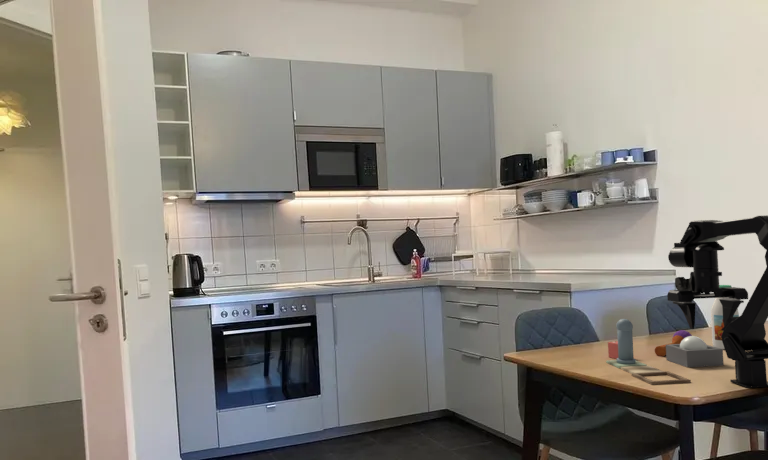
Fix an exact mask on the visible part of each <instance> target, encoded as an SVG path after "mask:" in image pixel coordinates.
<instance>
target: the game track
mask: <svg viewBox="0 0 768 460" xmlns="http://www.w3.org/2000/svg"><path fill="white" fill-rule="evenodd" d="M605 362H606V364H608V365H611V366H612V367H615V368H618V369H620V370H622V371H624V372H627V373H629V374H630V375H631V376H632V377H633V378H636V379H639V380H641V381H643V382H645V383H647V384H649V385H651V386H652V385H668V384H669V385H670V384H671V385H672V384H683V383H684V384H686V383H691V379H689V378H687V377H684V376H681V375H678V374H676V373H673V372H671V371H666V370H665V371H664V370H661V369H659V368H656V367H654V366H652V365H648V364H647V363H643V362H641V361H639V360H636V363H635V364H619V363H617V359H612V360H611V359H610V360H606V361H605ZM663 375H664V376H665V375H667V376H669V377H672V378H674V379H665V380H663V379H662V380H652V379H650V378H648V377H649V376H663ZM646 376H647V377H646Z"/></svg>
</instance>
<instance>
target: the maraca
mask: <svg viewBox="0 0 768 460" xmlns="http://www.w3.org/2000/svg"><path fill="white" fill-rule="evenodd" d="M688 336H693V334H691V333H690V332H689V331H687V330H685V329H679V330H678V331H676V332H674V333H673V335H672V339H671V343H666V344H662V345H658V346H656V347H654V354H655V355H656V356H658V357H666V345H669V344H680V343H681V341H682V340H683V339H684V338H686V337H688Z"/></svg>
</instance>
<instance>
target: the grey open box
mask: <svg viewBox="0 0 768 460" xmlns="http://www.w3.org/2000/svg"><path fill="white" fill-rule="evenodd" d="M668 344H669V343H668ZM706 345H707V349H697V350H687V349H683V348H680V344H669V345H666V355H665V357H666V361H669V362H670V363H673V364H677V365H679V366H683V367H686V368H698V367H699V368H700V367H716V366H717V367H718V366H725V365H724V349H721V348H717V347H713V345H709V344H706Z"/></svg>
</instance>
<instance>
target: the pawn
mask: <svg viewBox="0 0 768 460" xmlns="http://www.w3.org/2000/svg"><path fill="white" fill-rule="evenodd" d="M615 327H616V332H617V337H616V338H617V341H618V358H617V359H616V360H617V363H619V364H635V363H636V361H637V360H636V358H634V339H633V329H634V325H633V323H632V321H631V320H629V319H627V318H620V319H619V320H617V322H616V325H615Z"/></svg>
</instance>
